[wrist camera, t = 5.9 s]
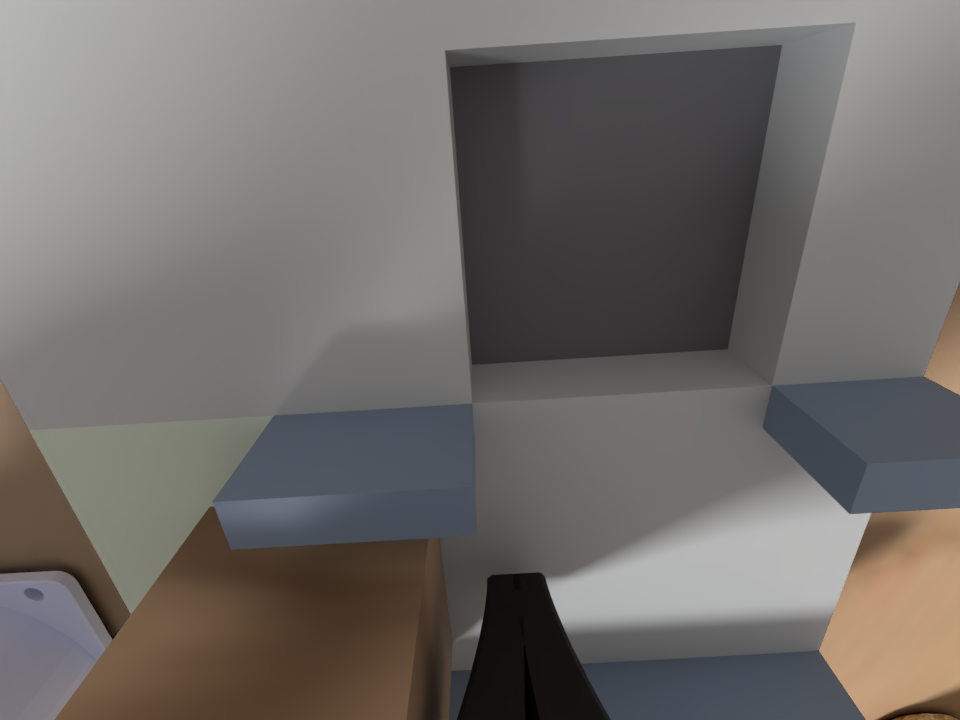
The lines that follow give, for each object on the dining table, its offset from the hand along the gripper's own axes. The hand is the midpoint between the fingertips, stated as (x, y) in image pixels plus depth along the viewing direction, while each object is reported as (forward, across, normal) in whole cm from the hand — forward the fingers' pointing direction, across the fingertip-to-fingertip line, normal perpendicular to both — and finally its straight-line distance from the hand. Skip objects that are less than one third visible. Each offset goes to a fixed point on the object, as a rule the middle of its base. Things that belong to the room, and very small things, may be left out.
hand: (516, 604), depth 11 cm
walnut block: (+1, +4, 0) cm, 4 cm away
